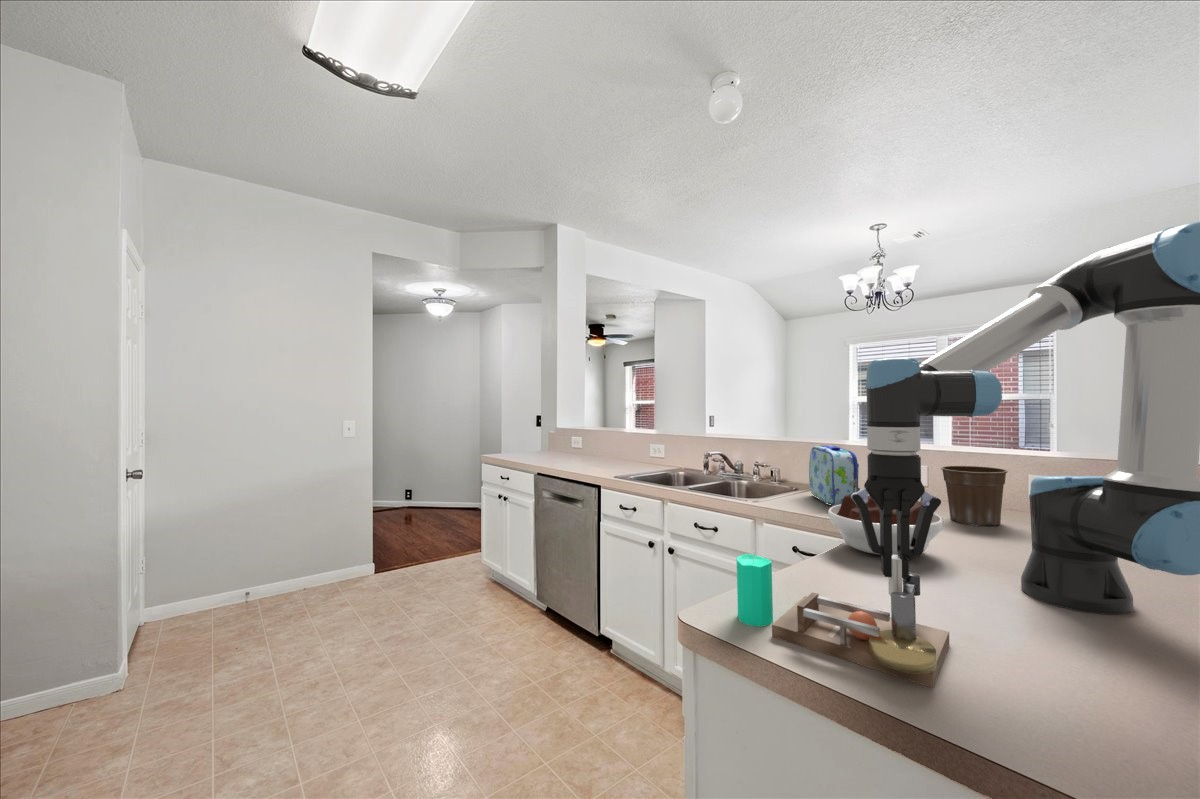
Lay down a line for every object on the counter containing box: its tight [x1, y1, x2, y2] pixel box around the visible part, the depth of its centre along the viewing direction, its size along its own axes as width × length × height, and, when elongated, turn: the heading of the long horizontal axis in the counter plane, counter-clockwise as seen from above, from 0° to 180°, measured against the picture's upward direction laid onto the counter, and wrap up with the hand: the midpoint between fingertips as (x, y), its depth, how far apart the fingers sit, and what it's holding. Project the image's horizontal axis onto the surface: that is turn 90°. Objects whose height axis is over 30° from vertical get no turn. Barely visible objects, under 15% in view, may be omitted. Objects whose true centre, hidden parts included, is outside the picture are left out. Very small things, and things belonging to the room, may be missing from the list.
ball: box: [848, 611, 877, 640], centre depth 74 cm, size 4×4×4 cm
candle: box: [736, 550, 774, 627], centre depth 86 cm, size 6×6×12 cm
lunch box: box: [808, 444, 861, 506], centre depth 180 cm, size 26×11×21 cm, turn 174°
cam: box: [869, 571, 937, 674], centre depth 72 cm, size 10×19×8 cm, turn 123°
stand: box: [771, 591, 950, 689], centre depth 78 cm, size 22×15×6 cm
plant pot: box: [940, 465, 1009, 527], centre depth 148 cm, size 16×16×16 cm
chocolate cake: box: [827, 494, 945, 556], centre depth 122 cm, size 25×25×15 cm
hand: (895, 596), depth 80 cm, fingers closed
